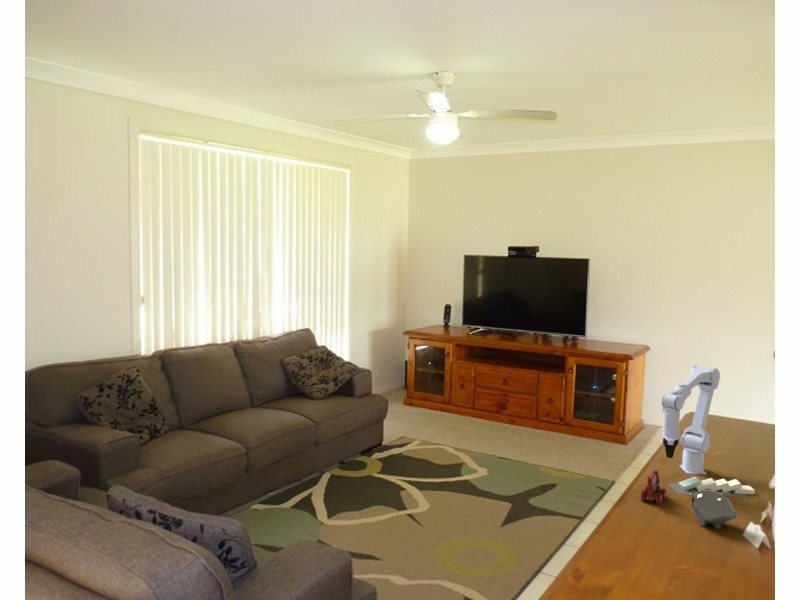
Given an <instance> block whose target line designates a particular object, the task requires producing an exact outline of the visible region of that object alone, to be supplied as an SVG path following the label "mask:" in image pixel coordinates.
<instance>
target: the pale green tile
mask: <svg viewBox="0 0 800 600" xmlns="http://www.w3.org/2000/svg"><path fill="white" fill-rule="evenodd" d="M701 481H702V480H700V478H698V477H696V476H691V477H690V478H687V479H685V480H682V481H681V480H680V481H679V482H678V484H679V486H680V487H681V488H682V489H684V490H685V491H686V490H689V489H691V488H694V487H697V486H699V485H702V483H701Z"/></svg>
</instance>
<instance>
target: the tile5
mask: <svg viewBox="0 0 800 600" xmlns="http://www.w3.org/2000/svg"><path fill="white" fill-rule="evenodd" d="M741 486H742V487H741V488H738V489H735V490H732V491H733V492H734V493H738V494H746V495H755V494H756V493H755V491H756V490H755V489H754V488H753V487H752V486H751V485H743V484H741Z"/></svg>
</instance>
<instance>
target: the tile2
mask: <svg viewBox="0 0 800 600" xmlns="http://www.w3.org/2000/svg"><path fill="white" fill-rule="evenodd" d="M715 481H716V480H714V479H713V478H712V477H710V478H707V479H703V480H701V483H702V485H699V486H697V487H695V488H696V489H697V490H698V491H701V490H706V489H709V488H712V487H716V483H715Z"/></svg>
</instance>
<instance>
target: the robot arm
mask: <svg viewBox="0 0 800 600" xmlns="http://www.w3.org/2000/svg"><path fill="white" fill-rule="evenodd" d="M720 379H721V373H720V371H719V369H718V368H715V367H708V366H703V365H698V364H694V365H693V366H692V367H691V368H690V373H689V376H688V378H687V379H686V380H685V381H684V383H681V382H680V383H679V384H678V385H676V387H675V388H674V389H673V390H672V391H670V392H668V393H666V394H664V395H663V396H662V398H661V399H662V400H661V406H662V411H663V427H662V428H663V430H662V443H663V445H664V449H665V454H666V458H668V459H673V458H674V455H675V451H676V448H677V446H678V444H679V439H680V444H681V446H682V447H683V450H682V458H681V459H682V462H681V464H679V467H680V468H681V469H682V471H684V472H685V473H686V474H691V475H692V474H694V475H708V474H707V472H706V471H705V470H704V462H705V460H704V459H705V453H706V452H707V451H708V450H709V449H710V445H711V440H710V439H711V435H710V434H709V432H708V431H707V430H706V424H707V421H708V417H709V413H710V409H711V404H712V399H713V396H714V393H715V390H717V389H718V387H719V383H720ZM697 386H698V387H699V394H698V398H697V402H696V406H695V411H694V413H693V414H694V415H693V417H692V418H693V419H692V423H691V425H690V426H688V427H686V428H684V431H683V434H682V435H680V420H681V419H680V417H681V415H680V414H681V410H682V409H683V407H684V404H685V402H686V399H688V398H689V396H691V394H692V389H694V388H695V387H697Z"/></svg>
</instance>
